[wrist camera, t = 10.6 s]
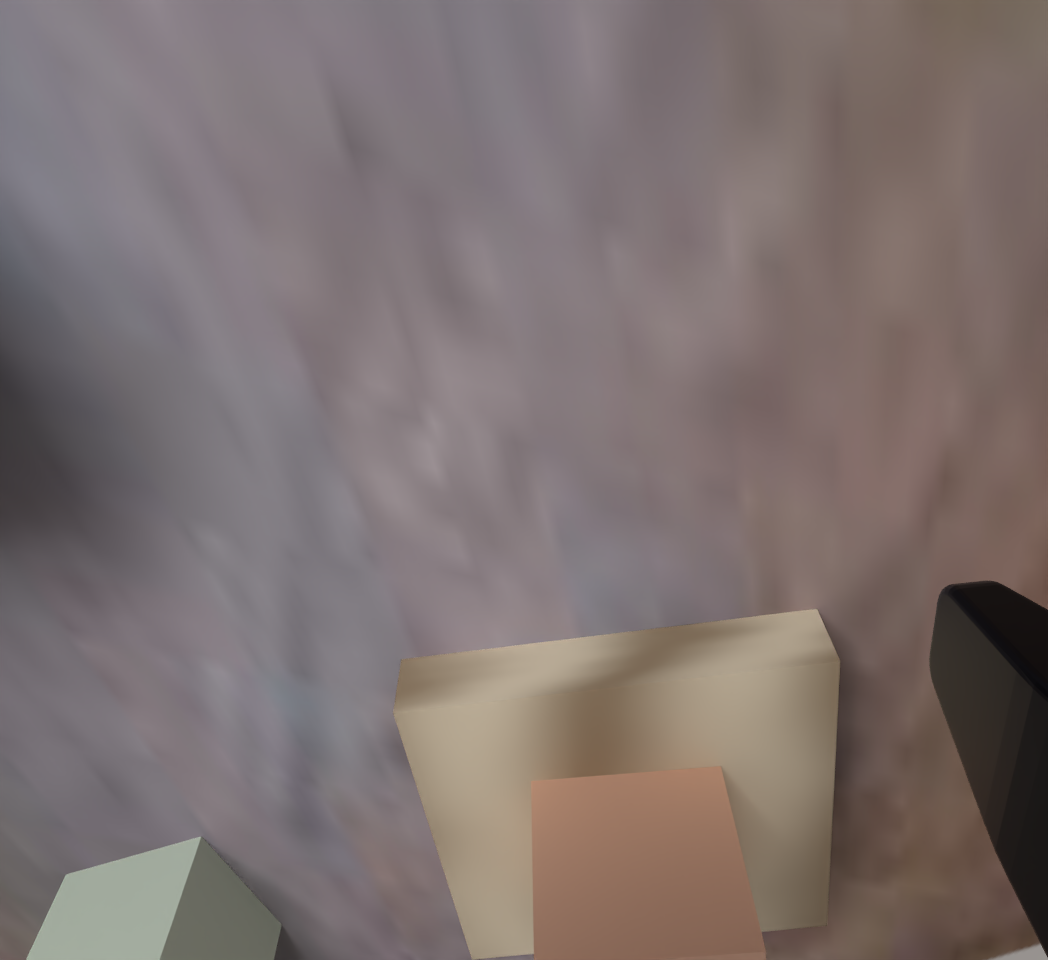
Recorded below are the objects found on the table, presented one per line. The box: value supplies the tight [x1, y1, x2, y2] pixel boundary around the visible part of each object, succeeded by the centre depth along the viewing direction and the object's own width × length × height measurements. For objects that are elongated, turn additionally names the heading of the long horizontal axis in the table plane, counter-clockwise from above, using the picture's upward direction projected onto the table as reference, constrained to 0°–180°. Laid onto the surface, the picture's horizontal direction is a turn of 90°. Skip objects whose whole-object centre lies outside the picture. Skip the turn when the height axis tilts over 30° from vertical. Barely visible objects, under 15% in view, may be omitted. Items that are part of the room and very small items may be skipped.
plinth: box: [393, 609, 840, 960], centre depth 26 cm, size 11×11×2 cm
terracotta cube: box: [531, 766, 766, 960], centre depth 23 cm, size 5×5×5 cm
